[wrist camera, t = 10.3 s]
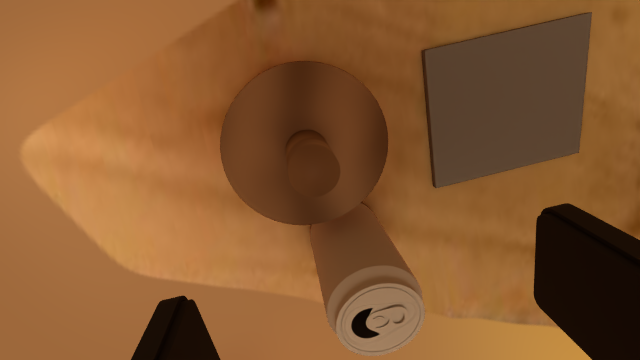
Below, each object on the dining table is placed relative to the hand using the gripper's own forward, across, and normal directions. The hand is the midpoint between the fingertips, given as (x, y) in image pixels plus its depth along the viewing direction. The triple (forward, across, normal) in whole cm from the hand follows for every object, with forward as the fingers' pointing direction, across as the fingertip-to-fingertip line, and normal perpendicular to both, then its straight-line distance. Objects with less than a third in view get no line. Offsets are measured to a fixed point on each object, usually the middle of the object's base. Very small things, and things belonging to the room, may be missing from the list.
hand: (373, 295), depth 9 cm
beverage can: (+21, -1, +10) cm, 23 cm away
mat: (+21, -17, +2) cm, 27 cm away
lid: (+15, +1, 0) cm, 15 cm away
